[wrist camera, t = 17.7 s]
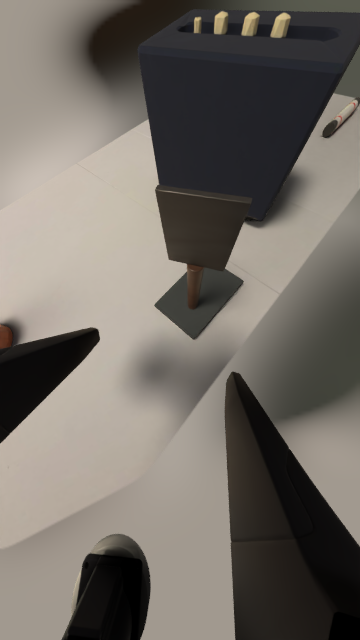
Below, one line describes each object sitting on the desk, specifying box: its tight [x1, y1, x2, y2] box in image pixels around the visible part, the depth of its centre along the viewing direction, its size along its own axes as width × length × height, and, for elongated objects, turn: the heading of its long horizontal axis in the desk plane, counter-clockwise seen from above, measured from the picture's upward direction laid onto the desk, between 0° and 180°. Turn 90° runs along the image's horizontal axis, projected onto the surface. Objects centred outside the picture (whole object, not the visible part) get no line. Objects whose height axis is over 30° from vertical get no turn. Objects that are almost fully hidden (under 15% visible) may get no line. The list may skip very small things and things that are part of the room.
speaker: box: [138, 10, 360, 221], centre depth 21 cm, size 22×13×15 cm, turn 59°
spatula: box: [155, 185, 252, 309], centre depth 13 cm, size 2×5×14 cm, turn 72°
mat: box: [155, 268, 244, 340], centre depth 21 cm, size 12×8×1 cm, turn 138°
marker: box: [322, 98, 360, 137], centre depth 31 cm, size 15×2×2 cm, turn 137°
